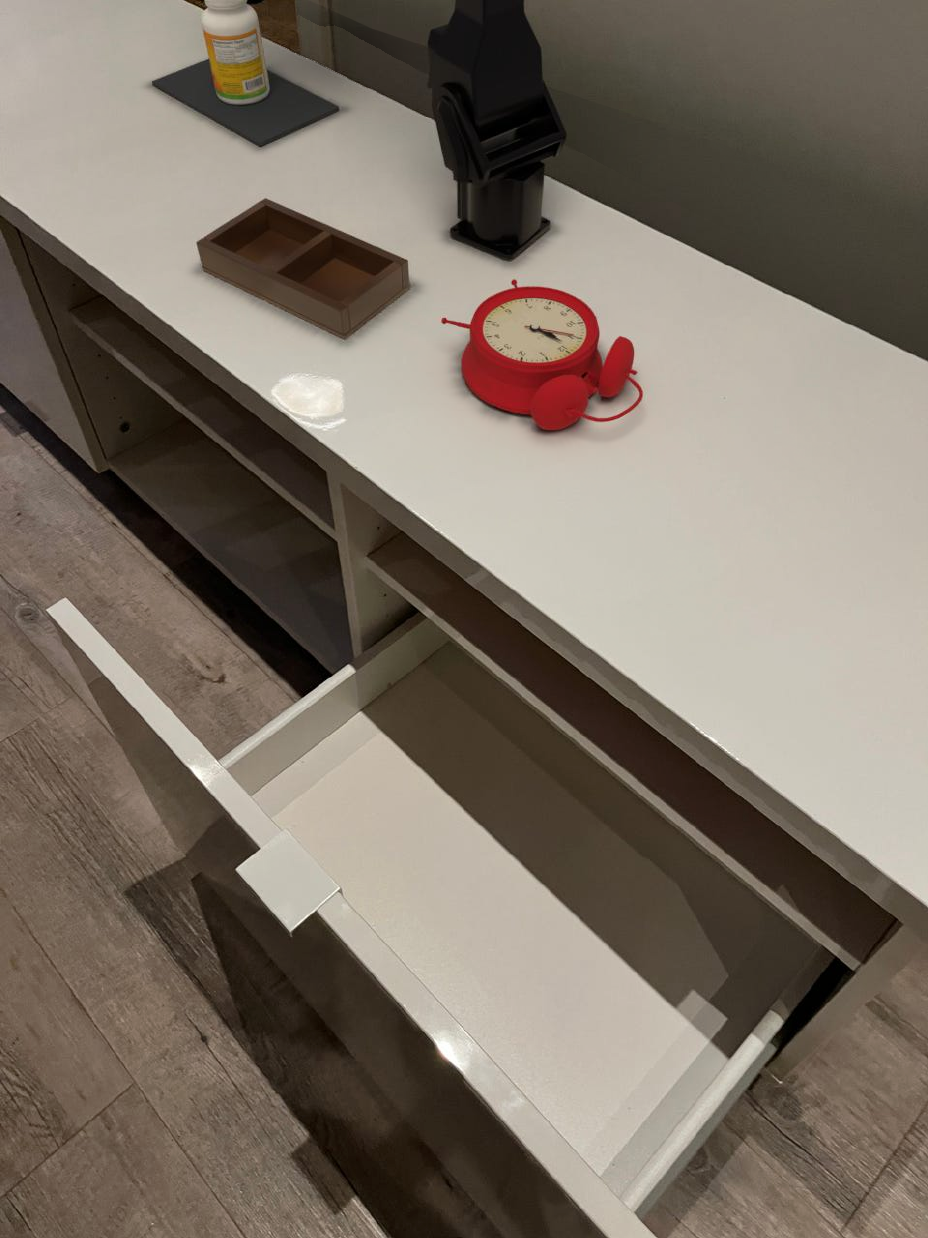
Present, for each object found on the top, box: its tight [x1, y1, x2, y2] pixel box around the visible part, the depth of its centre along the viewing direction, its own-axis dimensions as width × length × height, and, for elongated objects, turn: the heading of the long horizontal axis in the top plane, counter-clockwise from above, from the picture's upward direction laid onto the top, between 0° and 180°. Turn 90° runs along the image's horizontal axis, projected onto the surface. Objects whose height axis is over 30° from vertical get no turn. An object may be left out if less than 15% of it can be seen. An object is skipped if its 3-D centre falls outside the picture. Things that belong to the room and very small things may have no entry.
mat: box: [151, 58, 340, 148], centre depth 94 cm, size 18×10×1 cm, turn 45°
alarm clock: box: [440, 278, 644, 431], centre depth 66 cm, size 10×6×15 cm
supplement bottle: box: [200, 0, 270, 105], centre depth 89 cm, size 5×5×10 cm
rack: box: [195, 197, 410, 340], centre depth 74 cm, size 8×15×3 cm, turn 54°
